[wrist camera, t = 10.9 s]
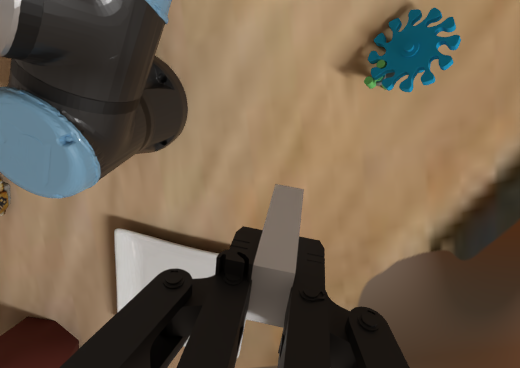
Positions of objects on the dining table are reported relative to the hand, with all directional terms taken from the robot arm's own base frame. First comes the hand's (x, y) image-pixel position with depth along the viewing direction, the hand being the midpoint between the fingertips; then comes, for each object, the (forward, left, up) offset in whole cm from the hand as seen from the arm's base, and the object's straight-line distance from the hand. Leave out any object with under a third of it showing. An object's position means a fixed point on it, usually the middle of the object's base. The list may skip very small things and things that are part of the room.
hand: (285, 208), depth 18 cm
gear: (+11, +7, -33) cm, 35 cm away
